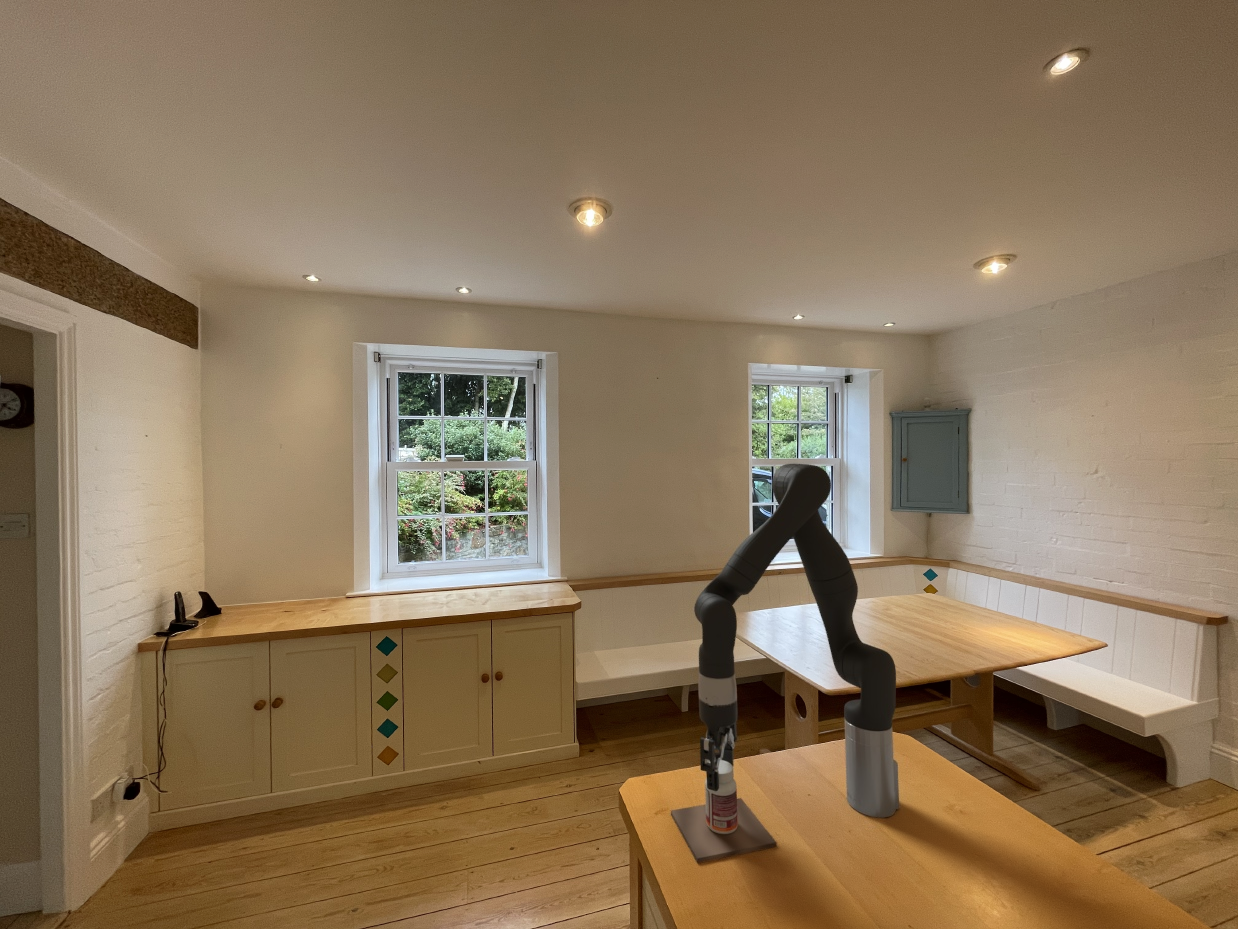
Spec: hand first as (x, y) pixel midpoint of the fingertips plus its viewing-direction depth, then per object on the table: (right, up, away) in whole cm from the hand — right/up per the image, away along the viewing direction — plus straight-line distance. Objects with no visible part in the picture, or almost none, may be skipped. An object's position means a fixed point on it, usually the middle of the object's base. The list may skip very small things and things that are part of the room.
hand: (720, 778), depth 101 cm
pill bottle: (0, -9, -1) cm, 9 cm away
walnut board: (0, -10, -1) cm, 10 cm away
